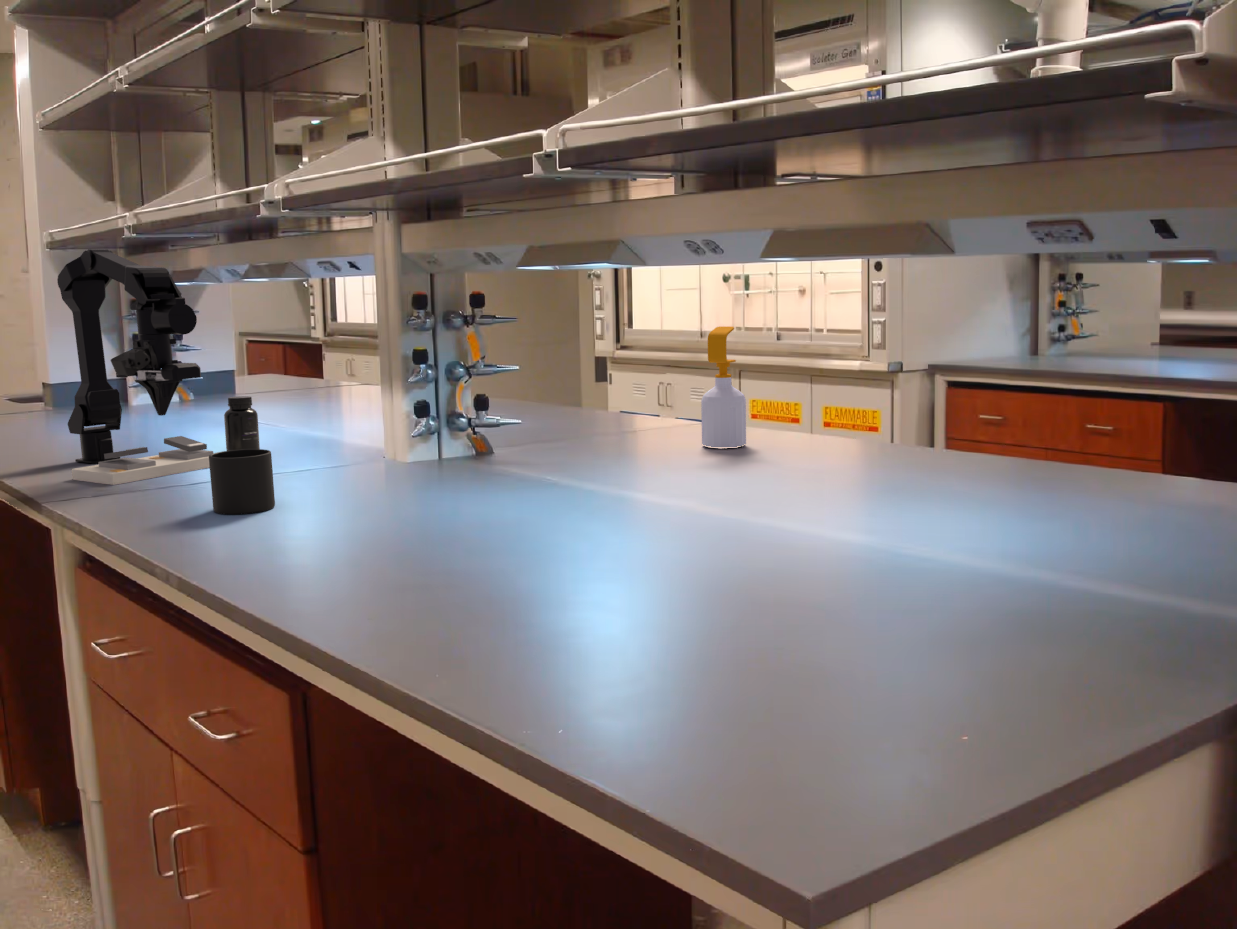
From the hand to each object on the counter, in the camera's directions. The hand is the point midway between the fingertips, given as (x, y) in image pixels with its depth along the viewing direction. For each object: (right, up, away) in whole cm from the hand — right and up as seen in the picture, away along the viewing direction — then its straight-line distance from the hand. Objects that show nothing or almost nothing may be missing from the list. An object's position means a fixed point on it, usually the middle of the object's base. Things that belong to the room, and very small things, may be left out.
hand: (161, 415), depth 218 cm
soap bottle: (+110, -6, +15) cm, 111 cm away
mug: (+28, -17, -36) cm, 49 cm away
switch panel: (-3, -11, +2) cm, 11 cm away
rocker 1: (-5, -8, -4) cm, 10 cm away
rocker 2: (+2, -6, +7) cm, 9 cm away
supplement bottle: (+8, -7, +24) cm, 26 cm away
